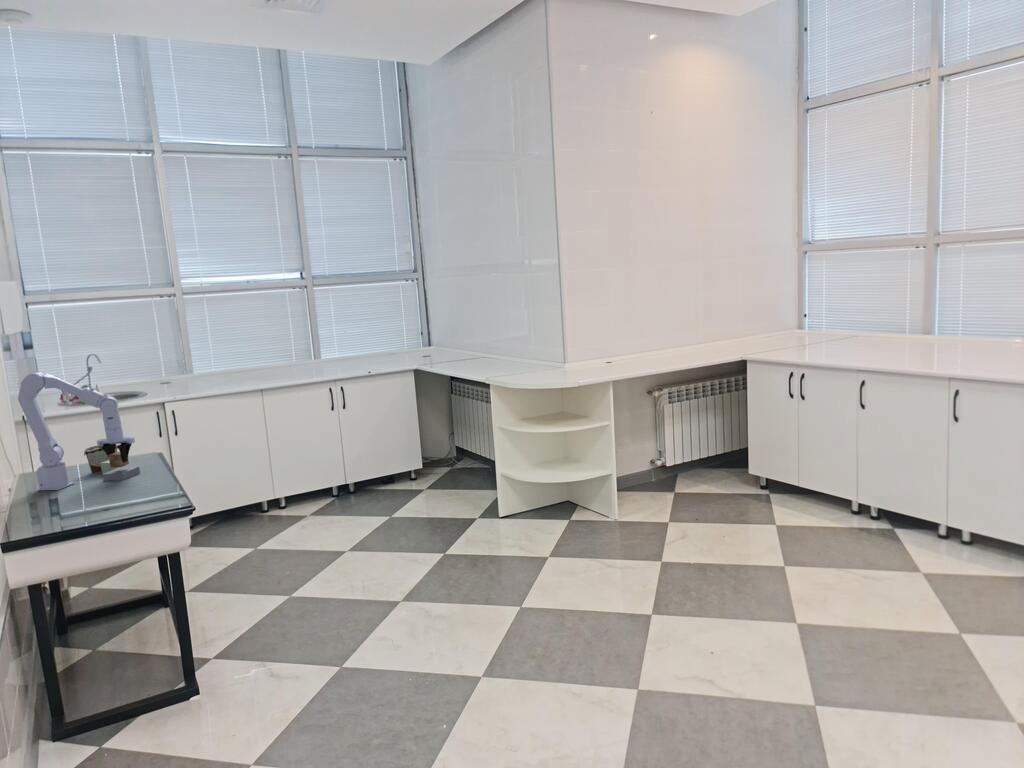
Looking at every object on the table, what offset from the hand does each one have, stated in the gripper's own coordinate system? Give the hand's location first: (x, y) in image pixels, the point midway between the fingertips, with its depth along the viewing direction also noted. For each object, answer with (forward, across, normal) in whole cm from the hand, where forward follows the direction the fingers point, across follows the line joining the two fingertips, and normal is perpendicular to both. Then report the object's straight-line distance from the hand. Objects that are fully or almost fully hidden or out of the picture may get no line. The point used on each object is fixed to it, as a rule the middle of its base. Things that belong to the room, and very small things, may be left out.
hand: (119, 461), depth 278 cm
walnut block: (+2, 0, 0) cm, 2 cm away
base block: (+6, 0, 0) cm, 6 cm away
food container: (+6, -16, +11) cm, 21 cm away
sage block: (+6, -9, +6) cm, 12 cm away
